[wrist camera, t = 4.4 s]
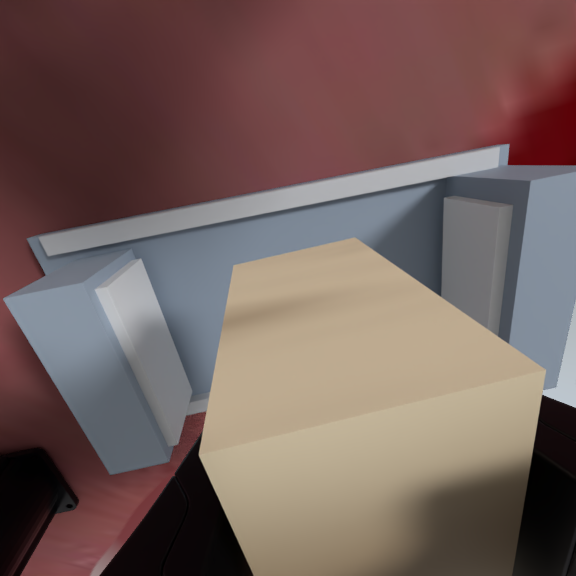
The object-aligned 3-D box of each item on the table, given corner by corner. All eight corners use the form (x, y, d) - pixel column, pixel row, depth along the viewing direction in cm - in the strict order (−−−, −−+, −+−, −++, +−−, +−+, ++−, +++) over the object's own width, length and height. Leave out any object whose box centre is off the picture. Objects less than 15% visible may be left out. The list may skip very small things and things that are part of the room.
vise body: (479, 336, 22) (561, 399, 16) (129, 411, 22) (81, 506, 16) (495, 145, 17) (624, 134, 11) (39, 234, 17) (-83, 274, 11)
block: (373, 399, 11) (501, 640, 5) (278, 422, 11) (307, 692, 5) (355, 237, 9) (545, 369, 3) (233, 265, 8) (198, 454, 3)
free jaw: (196, 391, 20) (178, 460, 15) (143, 403, 20) (110, 475, 15) (140, 246, 16) (95, 280, 11) (75, 259, 16) (2, 298, 11)
